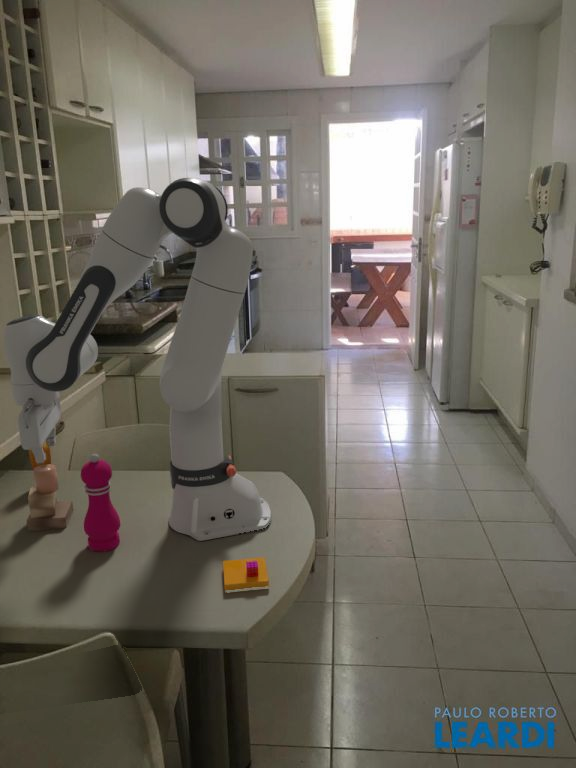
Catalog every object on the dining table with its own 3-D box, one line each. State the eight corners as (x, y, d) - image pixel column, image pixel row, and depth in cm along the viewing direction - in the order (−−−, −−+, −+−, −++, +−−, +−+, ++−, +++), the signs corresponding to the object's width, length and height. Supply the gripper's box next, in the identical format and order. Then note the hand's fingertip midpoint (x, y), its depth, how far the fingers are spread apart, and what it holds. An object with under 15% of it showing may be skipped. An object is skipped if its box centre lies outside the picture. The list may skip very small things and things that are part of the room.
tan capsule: (60, 484, 140) (57, 463, 139) (55, 493, 136) (52, 472, 135) (39, 485, 140) (36, 465, 139) (33, 494, 136) (30, 473, 134)
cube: (57, 504, 142) (54, 484, 140) (55, 515, 137) (52, 494, 136) (33, 507, 141) (30, 487, 139) (31, 518, 136) (27, 497, 135)
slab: (73, 512, 145) (72, 500, 144) (66, 529, 137) (65, 517, 136) (37, 515, 144) (35, 503, 143) (28, 532, 136) (26, 520, 135)
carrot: (29, 487, 156) (21, 430, 152) (47, 479, 160) (39, 424, 156) (41, 491, 154) (33, 434, 149) (59, 484, 158) (51, 428, 153)
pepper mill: (96, 533, 134) (86, 446, 128) (128, 536, 133) (119, 448, 127) (79, 551, 127) (68, 460, 121) (112, 554, 126) (102, 462, 120)
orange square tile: (225, 595, 113) (223, 575, 112) (223, 571, 120) (222, 551, 119) (269, 591, 114) (268, 570, 113) (264, 567, 121) (264, 547, 120)
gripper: (39, 406, 123) (50, 471, 127) (61, 378, 142) (70, 435, 146) (5, 409, 122) (18, 474, 126) (32, 380, 141) (42, 438, 145)
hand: (46, 453), depth 136 cm, fingers open, 8 cm apart
